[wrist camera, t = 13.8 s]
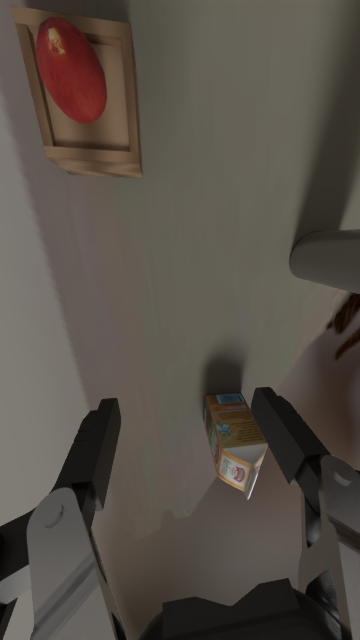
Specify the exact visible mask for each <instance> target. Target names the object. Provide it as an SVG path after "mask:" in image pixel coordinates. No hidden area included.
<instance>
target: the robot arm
mask: <svg viewBox="0 0 360 640" xmlns="http://www.w3.org/2000/svg"><path fill="white" fill-rule="evenodd" d="M290 268H291V271H292V273H293V274H294V275H295V276H296V277H298V278H301V279H305V280H308V281H312V282H316V283H319V284H323V285H327V286H331V287H334V288H338V289H342V290H346V291H349V292H353V293H357V294H360V229H357V230H339V231H319V232H313V233H310V234H308V235H306V236H305V237H303V238H302V239H301V240H300V241H299V242H298V243H297V245H296V246H295V248H294V250H293V251H292V254H291V258H290ZM251 412H252V415H253V417H254V419H255V421H256V423H257V425H258V427H259V429H260V431H261V433H262V434H263V436H264V438H265V440H266V442H267V444H268V446H269V448H270V450H271V451H272V453H273V455H274V457H275V459H276V461H277V463H278V465H279V466H280V468H281V470H282V472H283V474H284V476H285V478H286V480H287V482H288V483H289V485H294V484H299V486H300V488H301V490H302V491H301V523H302V552H301V557H300V562H299V570H298V590H296V589H294V588H292V586H291V584H290V581H289V579H288V578H286V579H281V580H276V581H271V582H266V583H261V584H259V585H257V586H256V587H255V588H254V589H252V590H251V591H250V592H249V593H248V594H246V595H245V596H244V597H243V598H241V600H239V601H238V602H237V603H235V604H234V605H233V606H226V605H223V604H219V603H216V602H212V601H209V600H206V599H202V598H198V597H191V598H185V599H180V600H175V601H170V602H165V603H163V611H162V612H160V613H159V614H158V615H156V616H155V617H154V618H153V619H152V620H151V621H150V622H149V624H148V625H147V626H146V627H145V628H144V630H143V631H142V632H141V634H140V635H139V637H138V638H137V640H360V471H358V470H355V469H354V468H353V467H351V466H350V465H349V464H348V463H347V462H345V461H344V460H342V459H340V458H338V457H336V456H332V455H331V454H330V452H329V451H328V450H327V449H326V448H325V446H324V445H323V444H322V443H321V442H320V440H319V439H318V438H317V436H316V435H315V434H314V433H313V431H312V430H311V429H310V428H309V426H308V425H307V424H306V423H305V422H304V421H303V419H302V418H301V416H300V415H299V414H297V411H296V410H295V409H294V408H293V406H292V405H291V404H290V403H289V402H288V401H286V400H285V399H284V398H283V397H281V396H277V395H276V393H275V392H274V391H273V389H272V388H270V387H260V388H256V389H255V392H254V395H253V399H252V403H251ZM120 426H121V415H120V409H119V404H118V399H117V398H108V399H102V400H101V402H100V405H99V407H98V410H93V411H90V412H89V413H88V415H87V416H86V417H85V418H84V419H83V421H82V423H81V426H80V428H79V430H78V434H77V435H76V437H75V439H74V443H73V444H72V446H71V449H70V451H69V453H68V456H67V458H66V460H65V463H64V465H63V467H62V470H61V472H60V474H59V477H58V479H57V481H56V484H55V485H54V487H53V489H52V490H51V492H50V493H49V495H47V496H46V497H45V498H44V499H43V500H42V501H41V502H40V503H39V505H38V506H37V507H36V508H34V509H33V510H32V511H30V512H28V513H26V514H25V515H23V516H20V517H19V518H17V519H14V520H12V521H10V522H8V523H6V524H4V525H2V526H0V640H3V636H4V634H5V631H6V629H7V626H8V623H9V620H10V618H11V615H12V612H13V609H14V607H15V604H16V601H17V598H18V597H19V596H20V595H21V594H23V593H25V592H26V591H28V590H30V589H32V600H33V610H34V629H33V632H32V634H31V638H30V640H128V639H127V636H126V632H125V629H124V626H123V623H122V620H121V617H120V614H119V611H118V608H117V605H116V602H115V599H114V596H113V593H112V591H111V588H110V585H109V582H108V579H107V576H106V573H105V570H104V567H103V564H102V561H101V558H100V554H99V551H98V548H97V545H96V542H95V538H94V536H93V532H92V529H91V526H92V522H93V518H94V514H95V511H99V510H103V508H104V503H105V498H106V493H107V489H108V484H109V479H110V474H111V470H112V465H113V460H114V455H115V451H116V446H117V441H118V436H119V432H120Z"/></svg>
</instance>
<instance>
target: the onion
mask: <svg viewBox="0 0 360 640" xmlns="http://www.w3.org/2000/svg"><path fill="white" fill-rule="evenodd" d="M36 61H37V65H38V68H39V72H40V76H41V79H42V81H43V83H44V85H45V87H46V89H47V90H48V92H49V94H50V96H51V97H52V99H53V101H54V102H55V104H56V105H57V106H58V107H59V108H60V109H61V110H62V111H63V112H64V113H65V114H66V115H67V116H68V117H69V118H70V119H72V120H74V121H76V122H78V123H80V124H91V123H93V122H95V121H96V120H98V119H99V118H100V116H101V115H102V113H103V112H104V110H105V106H106V101H107V88H106V81H105V74H104V71H103V69H102V67H101V64H100V62H99V59H98V57H97V55H96V52H95V50H94V48H93V47H92V46H91V44H90V43H89V41H88V40H87V38H86V37H85V35H84V34H83V33H82V32H81V31H80V30H79V29H78V28H77V27H76V26H74V25H73V24H72V23H70V22H69V21H68V20H66V19H65V18H59V17H49V18H48V19H46V20H45V21H43V22H42V23H40V26H39V31H38V35H37V40H36Z"/></svg>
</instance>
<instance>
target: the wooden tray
mask: <svg viewBox="0 0 360 640" xmlns="http://www.w3.org/2000/svg"><path fill="white" fill-rule="evenodd" d="M11 7H12V11H13V16H14V20H15V24H16V28H17V33H18V37H19V41H20V46H21V50H22V54H23V58H24V63H25V67H26V71H27V75H28V80H29V84H30V88H31V93H32V97H33V101H34V105H35V110H36V114H37V118H38V122H39V127H40V131H41V135H42V139H43V144H44V148H45V152H46V157H47V158H49V159H50V160H51V161H53V162H54V163H55V164H57V165H58V166H59V167H61V168H62V169H63V170H65V171H66V172H67V173H69V174H77V175H95V176H113V177H131V178H143V171H142V154H141V137H140V120H139V103H138V86H137V72H136V64H135V56H134V49H133V41H132V33H131V25H130V23H123V22H116V21H110V20H103V19H97V18H90V17H84V16H77V15H70V14H64V13H57V12H51V11H44V10H37V9H31V8H24V7H18V6H11ZM49 17H59V18H65V19H66V20H68V21H69V22H70V23H72V24H73V25H74V26H76V27H77V28H78V29H79V30H80V31H81V32H82V33H83V34H84V35H85V37H86V38H87V40H88V41H89V43H90V44H91V46H92V47H93V48H94V50H95V52H96V55H97V57H98V59H99V62H100V64H101V67H102V69H103V71H104V74H105V81H106V88H107V101H106V106H105V110H104V112H103V113H102V115H101V116H100V118H99V119H98V120H96V121H95V122H93V123H91V124H80V123H78V122H76V121H74V120H72V119H70V118H69V117H68V116H67V115H66V114H65V113H64V112H63V111H62V110H61V109H60V108H59V107H58V106H57V105H56V104H55V102H54V101H53V99H52V97H51V96H50V94H49V92H48V90H47V89H46V87H45V85H44V83H43V81H42V79H41V76H40V72H39V68H38V65H37V61H36V40H37V35H38V31H39V26H40V23H42V22H43V21H45V20H46V19H48V18H49Z"/></svg>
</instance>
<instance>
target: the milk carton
mask: <svg viewBox="0 0 360 640" xmlns="http://www.w3.org/2000/svg"><path fill="white" fill-rule="evenodd" d="M203 421H204V425H205V429H206V433H207V437H208V441H209V445H210V449H211V453H212V457H213V460H214V464H215V468H216V472H217V476H219V477H220V478H221V479H222V480H224V481H225V482H227V483H228V484H230V485H232V486H234V487H236V488H238V489H240V490H242V491H244V492H245V495H246V497H247V499H249V497H250V495H251V492H252V489H253V486H254V484H255V481H256V478H257V476H258V471H259V468H260V465H261V463H262V460H263V458H264V455H265V452H266V449H267V446H268V444H267V442H266V440H265V438H264V436H263V434H262V433H261V431H260V429H259V427H258V425H257V423H256V421H255V419H254V417H253V415H252V412H251V410H250V408H249V406H248V405H247V403H246V401H245V399H244V397H243V395H242V394H241V393H230V394H219V395H207V396H206V399H205V409H204V419H203Z"/></svg>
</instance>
